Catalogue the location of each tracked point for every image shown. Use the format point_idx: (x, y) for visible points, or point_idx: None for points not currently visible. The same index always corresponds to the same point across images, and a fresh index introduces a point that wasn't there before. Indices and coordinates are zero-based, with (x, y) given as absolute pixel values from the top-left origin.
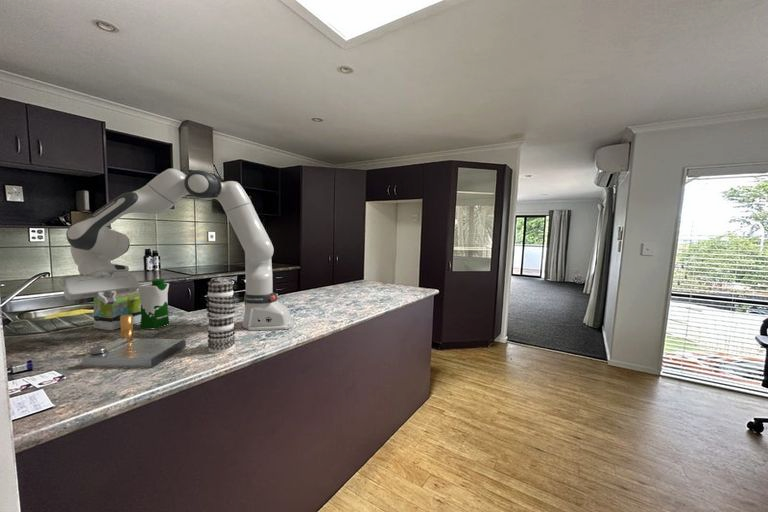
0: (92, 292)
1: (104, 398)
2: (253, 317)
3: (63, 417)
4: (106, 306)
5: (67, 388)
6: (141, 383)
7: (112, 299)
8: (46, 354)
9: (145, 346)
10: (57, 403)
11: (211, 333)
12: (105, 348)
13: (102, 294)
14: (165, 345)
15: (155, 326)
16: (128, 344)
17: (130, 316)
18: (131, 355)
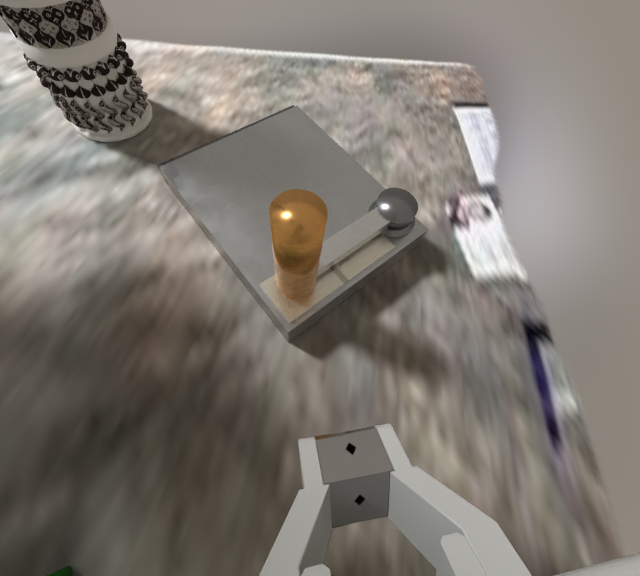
0: (617, 560)
1: (392, 80)
2: None
3: (440, 71)
4: None
5: (441, 153)
6: (334, 85)
7: (331, 453)
8: (521, 487)
9: (272, 189)
10: (450, 111)
11: (125, 44)
12: (379, 194)
13: (454, 535)
14: (229, 156)
15: (55, 574)
16: None
17: (285, 193)
18: (325, 150)
